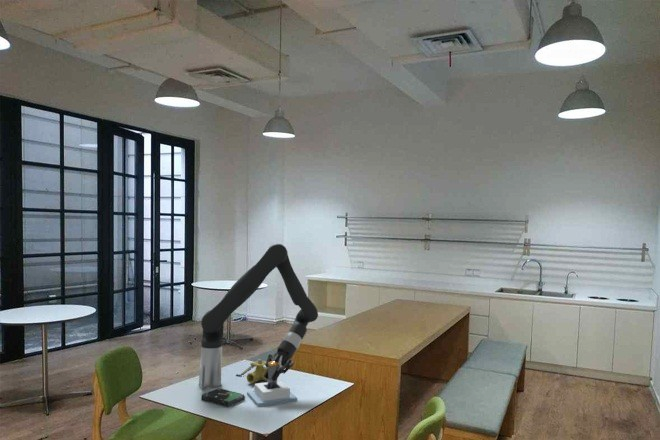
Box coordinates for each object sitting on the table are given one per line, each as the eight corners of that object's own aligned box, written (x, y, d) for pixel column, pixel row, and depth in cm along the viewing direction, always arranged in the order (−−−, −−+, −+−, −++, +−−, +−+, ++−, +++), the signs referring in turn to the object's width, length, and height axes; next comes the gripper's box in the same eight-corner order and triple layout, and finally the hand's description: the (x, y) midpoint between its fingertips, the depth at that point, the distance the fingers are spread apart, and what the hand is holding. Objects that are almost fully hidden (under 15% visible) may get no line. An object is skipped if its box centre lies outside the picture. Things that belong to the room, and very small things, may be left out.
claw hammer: (248, 379, 220) (248, 377, 220) (235, 377, 221) (235, 375, 221) (264, 366, 240) (264, 364, 240) (252, 364, 242) (252, 362, 242)
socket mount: (257, 406, 183) (258, 394, 184) (246, 394, 197) (247, 383, 197) (297, 400, 191) (297, 389, 191) (284, 389, 204) (284, 378, 205)
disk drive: (200, 401, 189) (228, 408, 182) (200, 394, 189) (229, 401, 182) (218, 394, 198) (245, 400, 191) (218, 387, 198) (245, 393, 191)
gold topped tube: (269, 390, 191) (270, 364, 192) (266, 388, 195) (266, 361, 195) (278, 389, 193) (279, 363, 193) (275, 386, 197) (275, 360, 197)
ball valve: (261, 376, 223) (261, 355, 223) (278, 380, 218) (279, 358, 218) (244, 383, 212) (244, 361, 212) (262, 387, 207) (262, 365, 207)
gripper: (274, 337, 205) (252, 370, 195) (297, 342, 196) (276, 377, 186) (282, 346, 209) (261, 380, 199) (305, 352, 200) (285, 387, 190)
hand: (269, 378), depth 193 cm, fingers closed on gold topped tube, 4 cm apart
